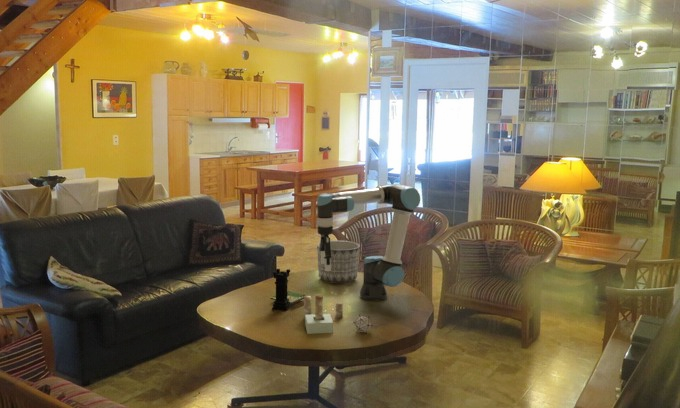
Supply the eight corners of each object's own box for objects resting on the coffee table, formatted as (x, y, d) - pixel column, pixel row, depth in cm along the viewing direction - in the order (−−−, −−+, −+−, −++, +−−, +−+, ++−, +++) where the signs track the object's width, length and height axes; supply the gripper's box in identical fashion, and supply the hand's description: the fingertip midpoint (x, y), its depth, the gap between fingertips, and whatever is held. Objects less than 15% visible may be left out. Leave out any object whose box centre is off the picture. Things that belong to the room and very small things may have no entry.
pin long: (322, 327, 283) (322, 295, 281) (322, 329, 280) (323, 297, 277) (314, 327, 283) (314, 295, 280) (315, 330, 279) (315, 297, 277)
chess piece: (286, 310, 306) (286, 273, 302) (271, 309, 307) (271, 272, 304) (291, 305, 313) (291, 269, 310) (276, 304, 315) (276, 268, 312)
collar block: (329, 323, 288) (329, 313, 287) (333, 332, 276) (333, 322, 276) (305, 324, 286) (305, 314, 286) (307, 333, 275) (307, 323, 274)
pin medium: (310, 316, 297) (310, 295, 296) (311, 319, 294) (311, 297, 292) (303, 316, 297) (303, 295, 295) (304, 319, 293) (304, 298, 292)
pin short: (341, 315, 300) (342, 302, 299) (343, 317, 296) (343, 304, 295) (335, 315, 299) (335, 302, 298) (336, 318, 296) (336, 304, 295)
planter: (312, 284, 352) (313, 248, 349) (321, 273, 377) (321, 239, 374) (355, 287, 348) (356, 251, 344) (361, 275, 373) (362, 241, 370)
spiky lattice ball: (358, 339, 279) (351, 319, 283) (375, 332, 279) (368, 312, 283) (357, 336, 271) (349, 315, 274) (374, 329, 271) (367, 309, 275)
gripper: (314, 221, 303) (314, 261, 307) (321, 231, 279) (322, 274, 283) (328, 220, 305) (328, 260, 308) (337, 230, 280) (337, 273, 284)
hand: (325, 267), depth 295 cm, fingers open, 13 cm apart
